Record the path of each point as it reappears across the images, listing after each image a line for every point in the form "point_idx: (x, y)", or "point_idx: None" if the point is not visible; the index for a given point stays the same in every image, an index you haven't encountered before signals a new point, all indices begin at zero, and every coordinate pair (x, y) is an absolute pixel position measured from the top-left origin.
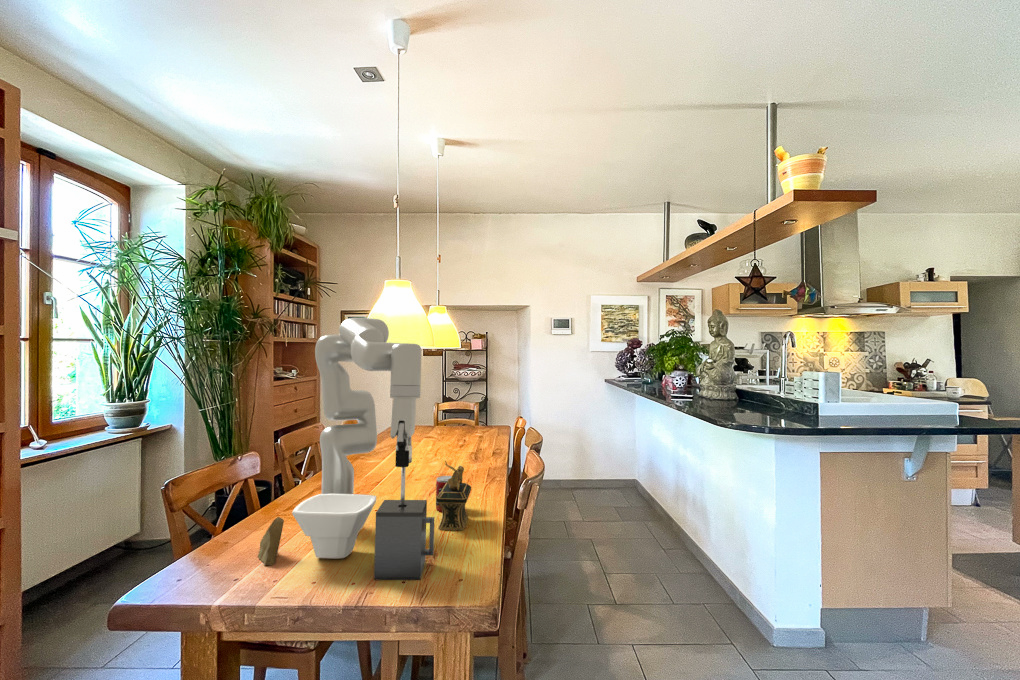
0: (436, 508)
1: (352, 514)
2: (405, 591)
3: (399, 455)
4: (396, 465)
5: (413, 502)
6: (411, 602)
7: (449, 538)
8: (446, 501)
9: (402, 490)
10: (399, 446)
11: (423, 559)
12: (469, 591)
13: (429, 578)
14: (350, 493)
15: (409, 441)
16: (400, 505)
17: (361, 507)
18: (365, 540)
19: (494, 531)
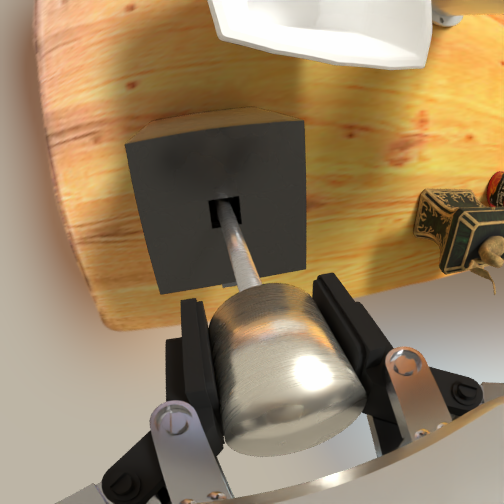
0: (498, 173)
1: (215, 24)
2: (114, 201)
3: (166, 388)
4: (182, 308)
5: (274, 236)
6: (79, 225)
7: (380, 218)
8: (450, 232)
9: (225, 241)
10: (137, 462)
11: None
12: (142, 301)
13: None
14: (483, 5)
15: (375, 438)
16: (239, 199)
17: (391, 27)
18: None
19: (399, 285)
